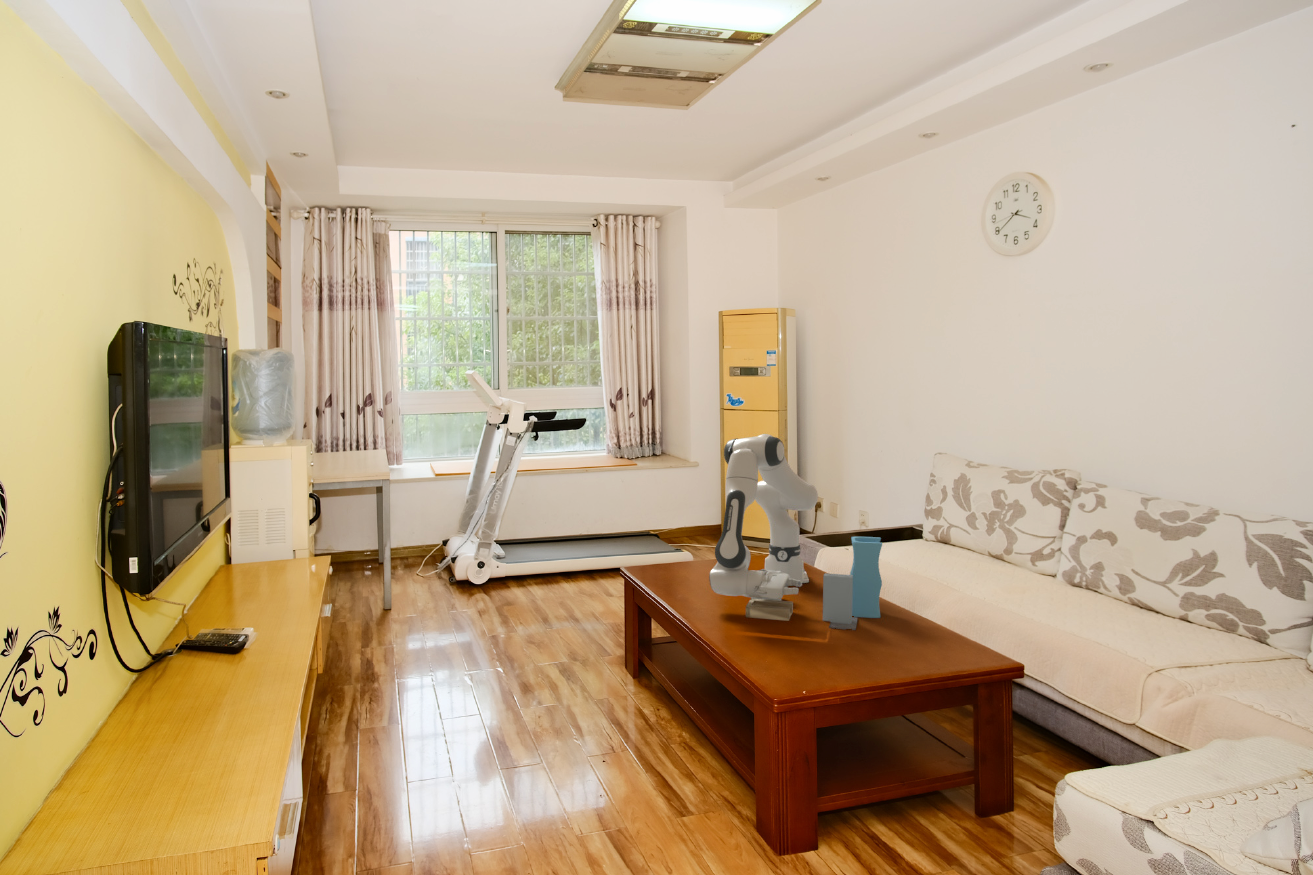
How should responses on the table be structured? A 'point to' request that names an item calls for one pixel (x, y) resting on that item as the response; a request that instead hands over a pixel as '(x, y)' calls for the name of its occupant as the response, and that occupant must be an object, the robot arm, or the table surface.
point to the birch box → (769, 609)
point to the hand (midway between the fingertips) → (800, 587)
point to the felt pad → (845, 625)
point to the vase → (866, 577)
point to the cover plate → (837, 598)
